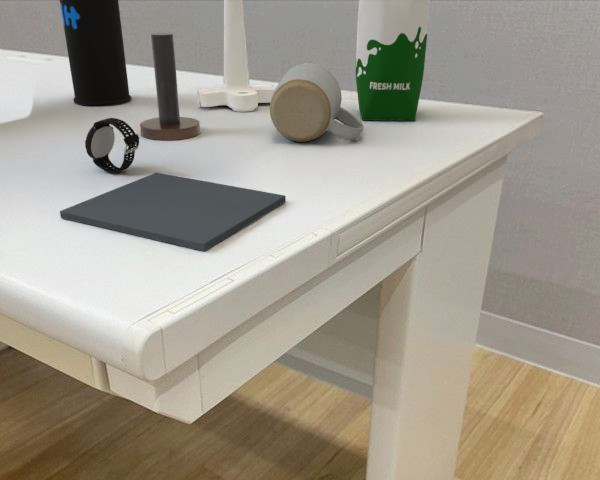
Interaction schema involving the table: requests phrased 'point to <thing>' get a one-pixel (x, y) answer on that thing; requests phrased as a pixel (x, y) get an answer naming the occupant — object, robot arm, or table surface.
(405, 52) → the milk carton
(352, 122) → the ceramic mug
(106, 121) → the smartwatch
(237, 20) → the white footed stand
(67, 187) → the table surface
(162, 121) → the post
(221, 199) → the mat
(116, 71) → the aerosol can
